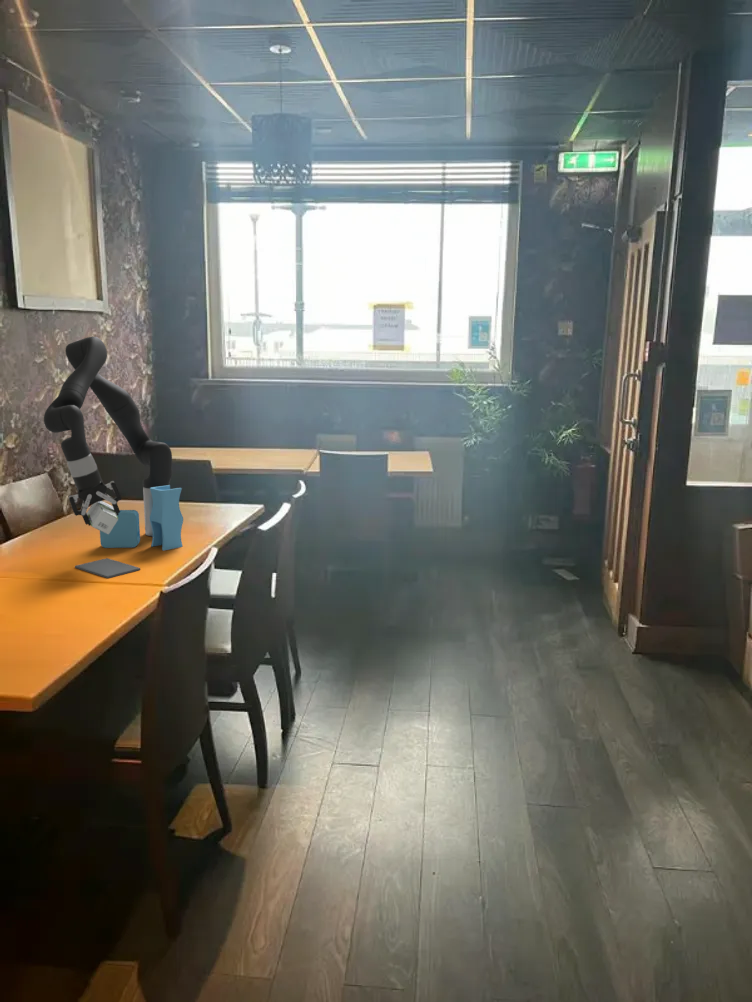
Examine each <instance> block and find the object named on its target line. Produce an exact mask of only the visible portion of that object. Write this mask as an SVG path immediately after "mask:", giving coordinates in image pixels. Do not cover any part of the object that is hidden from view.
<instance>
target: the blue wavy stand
mask: <svg viewBox="0 0 752 1002" xmlns="http://www.w3.org/2000/svg"><path fill="white" fill-rule="evenodd" d="M182 489H183V487H176V488H171V484H170V485H166V486H158V487H151V488H150V491H151V494H152V499H153V507H152V512H151V515H150V523H151V526H152V531H153V536H152V539H151V540H152V541H151V545H150V546H151V547H157V546H158V547H159V546H162V547H161V550H162V551H168V550H169V551H170V550H173V549H178V548H182V547H183V542H182V529H183V528H182V527H183V525H184V524H183V523H184V516H183V514H182V511H181V507H180V496H181V492H182Z"/></svg>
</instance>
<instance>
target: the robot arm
mask: <svg viewBox="0 0 752 1002" xmlns="http://www.w3.org/2000/svg"><path fill="white" fill-rule="evenodd" d="M65 355H66V358H67V360H68V361H69V364H70V365H71V367H72V368H73V369H74V371H72V372H71V373H70V375H69V376H67V378H66V379H65V380H64V382H63V384H62V386H61V388H60V390H59V393H58V395H57V397H56V398H55V399H54V400H53V401H52V402H51V403H50V405H48V407H47V408H46V410H45V411H44V415H43V425H45V428H46V430H48V431H49V432H52V433H54V434H55V433H57V434H58V433H62V432H67V431H68V432H69V431H70V432H71V433H70V436H69V437H67V438H66V439H63V440H62V441H61V443H60V447H61V450H62V453H63V455H64V457H65V459H66V463H67V467H68V470H69V473H70V476H71V477H72V480H73V482H74V485H75V487H76V490H77V493H76V494H73V495H72V494H70V495H68V500H69V503H70V506H71V508H72V511H73V514H74V515H75V517H77V516H82V518H83V521H84V523H85V525H88V527H91V524H90V521H89V518H88V516H87V512H88V509H89V506H90V505H92V504H94V503H96V502H100V501H103V500H105V501H107V502H109V503H111V506H113V508H114V511H115V512H116V515H119V514H118V513H120V510H121V509H120V507H119V506H118V502H119V501H122V496H121V494H120V492H119V489H118V487H117V485H116V482H115V480H110V482H108V483H106V484H105V483H104V482H103V479H102V477H101V473H100V471H99V468H98V465H97V463H96V461H95V458H94V457H93V455H92V453H91V450H90V448H89V445H88V443H87V440H86V431H85V420H84V414H83V412H82V410H81V408H82V407H83V404H84V403H85V399H86V398H87V397H86V396H87V393H88V391H89V389H91V391H92V393H93V394H94V395H95V396H96V397H97V399H98V400H99V402H100V403H101V405H102V406H103V408H104V410H105V411H106V413H107V414H108V416H110V418H111V420H112V421H113V422H114V424H115V425H116V426H117V428H118V429H119V431H120V432H121V434H122V435H123V437H125V439H126V441H127V443H128V444H129V447H130V448H131V450H132V451H133V453H134V455H135V457H136V459H137V460H138V462H139V463H140V464H142V465H143V466H145V467H148V468H149V474H148V476H147V477H144V478H143V480H142V493H143V513H144V531H145V533H144V534H145V536H148V537H153V531H152V526H151V523H150V515H151V512H152V507H153V499H152V494H151V491H150V488H151V487H158V486H166V485H170V486H171V484H170V483H171V480H172V478H173V455H172V449H171V447H170V446H169V445H168V444H167V443H165V442H163V441H162V442H161V441H155V440H152V439H151V438H150V437H149V436H148V434H147V432H146V431H145V430H144V428H143V426H142V424H141V415H140V410H139V408H138V406H137V404H136V402H135V401H134V399H133V397H131V395H130V393H129V392H128V391H127V390H126V389H124V388H122V387H121V386H120V385H118V384H115V382H112V381H110V380H109V379H107V378H105V377H104V376H102V375H101V374H100V373H99V372H100V371H101V368H102V367H103V366H104V365H105V363H106V362H107V358H108V351H107V347H106V345H105V343H104V342H103V340H102V339H101V338H100V337H97V336H88V337H84V338H81V339H78V340H76V341H73V342H70V343H69V344H67V345H66V346H65ZM107 489H110V490H111V491H112V490H113V493H114V495H115V496H114V497H112V496H110V495H109V494H107ZM78 499H80V500H82V505H81V508H80V509H78V507H77V504H76V503H77V502H78Z"/></svg>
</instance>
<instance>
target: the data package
mask: <svg viewBox="0 0 752 1002" xmlns="http://www.w3.org/2000/svg"><path fill="white" fill-rule="evenodd" d="M119 510H120V513H118V514H119V515H117V517H118V521H117V522H116V524H115V525H114V527H113V528H112V530H111V532H110V533H109V534H106V533H104V532H102V531H100V530H99V539H100V541H99V543H100V545H101V547H102V548H104V549H109V548H110V549H115V548H116V549H117V548H118V549H119V548H121V549H123V548H124V549H125V548H136V547H137V546H138V545H139V544H140V542H141V532H140V531H141V530H140V527H141V526H140V513H139V512H138V510H136V509H119Z"/></svg>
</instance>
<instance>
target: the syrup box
mask: <svg viewBox="0 0 752 1002" xmlns="http://www.w3.org/2000/svg"><path fill="white" fill-rule="evenodd" d="M86 513H87V516H88V518H89V521H90V524H91V525H90V527H92V528H94V529H95V530H98V531H99V532H100V531H102V532H104V533H106V534H109V533H110V532H111V530H112V528H113V527H114V525H115V524H116V522H117V521H118V517H117V515H116V512H115V511H114V508H113V506H112V504H109V503H107V502H106V501H103V500H102V501H100V502H96V503H94V504H90V507H88V509H87V511H86Z"/></svg>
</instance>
